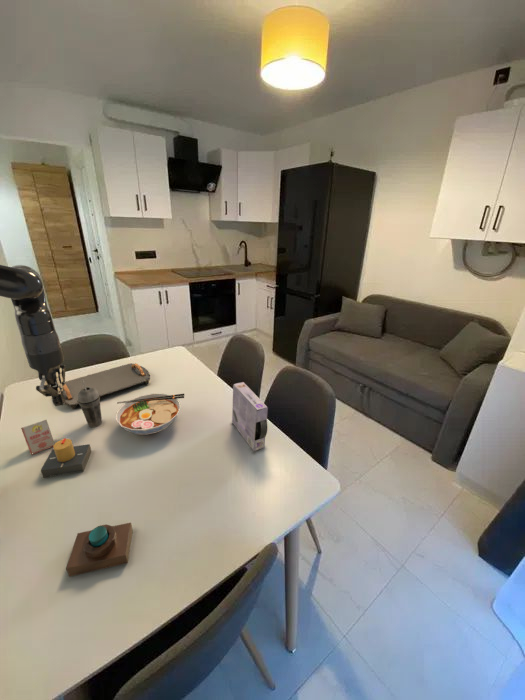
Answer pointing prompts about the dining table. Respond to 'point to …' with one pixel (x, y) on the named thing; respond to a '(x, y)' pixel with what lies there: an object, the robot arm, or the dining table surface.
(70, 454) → the dial
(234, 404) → the cake pan box
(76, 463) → the dial panel
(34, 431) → the pink printed box
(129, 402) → the ramen bowl
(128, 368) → the serving tray
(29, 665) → the dining table surface
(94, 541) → the button
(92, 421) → the beverage cup
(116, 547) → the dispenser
